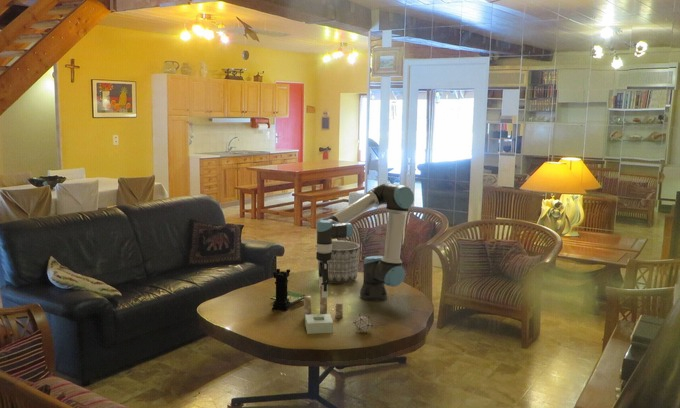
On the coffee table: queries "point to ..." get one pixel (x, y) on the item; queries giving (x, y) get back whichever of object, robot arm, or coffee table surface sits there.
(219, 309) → the coffee table surface
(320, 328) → the collar block
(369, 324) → the spiky lattice ball
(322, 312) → the pin long
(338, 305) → the pin short
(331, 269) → the planter
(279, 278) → the chess piece
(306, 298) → the pin medium
